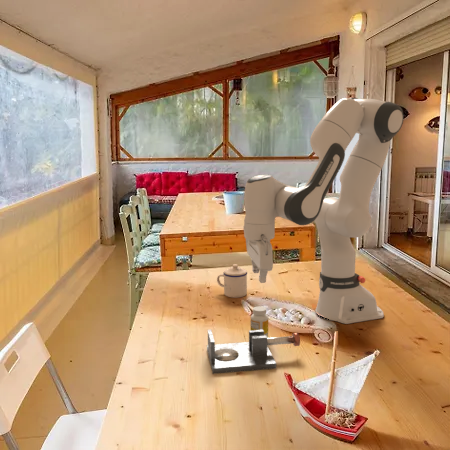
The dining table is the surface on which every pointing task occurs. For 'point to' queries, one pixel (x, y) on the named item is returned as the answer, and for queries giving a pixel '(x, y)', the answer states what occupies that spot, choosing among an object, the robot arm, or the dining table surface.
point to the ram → (285, 340)
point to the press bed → (240, 354)
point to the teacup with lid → (234, 281)
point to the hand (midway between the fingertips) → (259, 277)
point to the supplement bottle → (259, 319)
